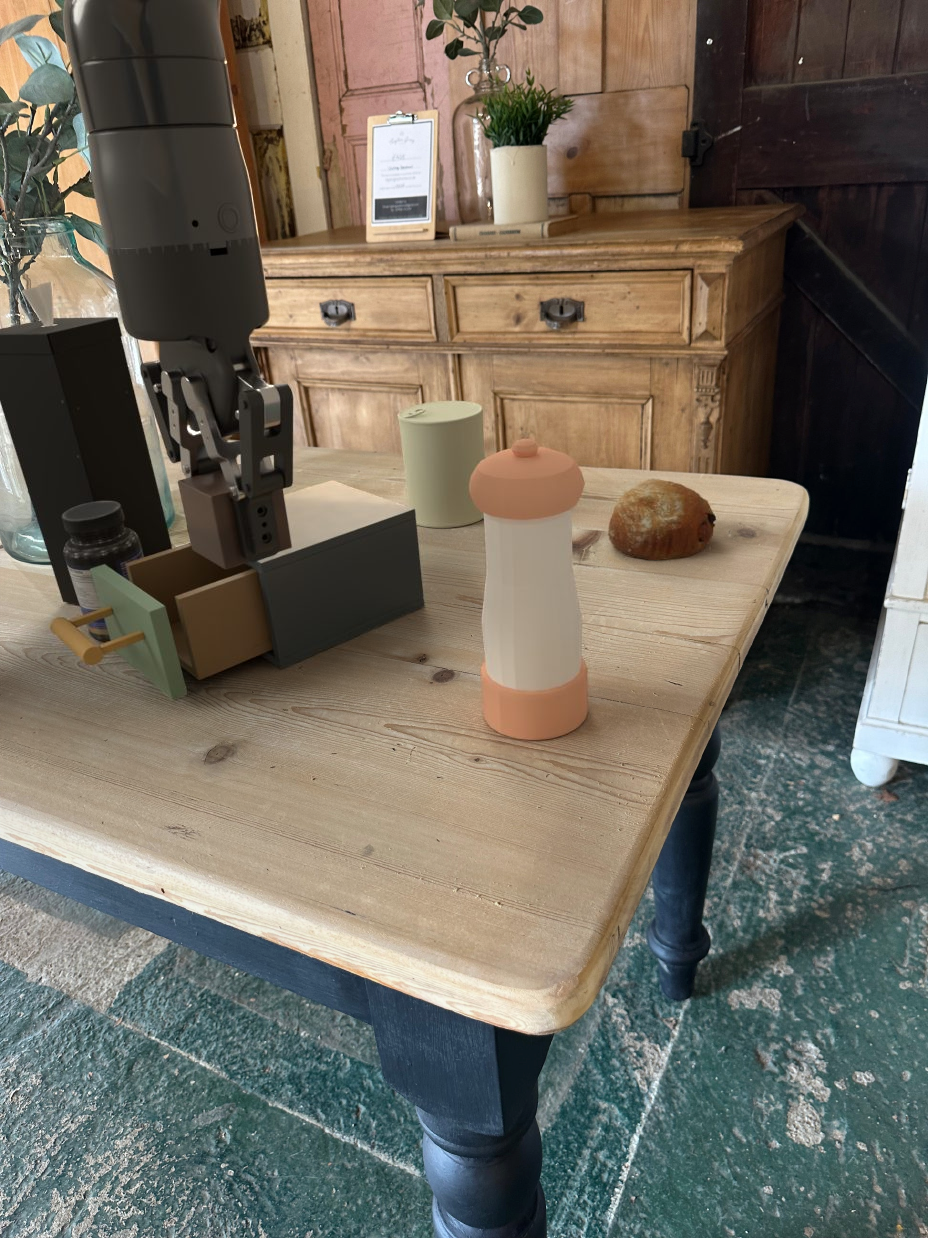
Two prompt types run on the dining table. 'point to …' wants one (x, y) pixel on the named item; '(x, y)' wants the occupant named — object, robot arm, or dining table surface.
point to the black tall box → (77, 426)
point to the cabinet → (338, 570)
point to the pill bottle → (97, 552)
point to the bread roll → (661, 521)
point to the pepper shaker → (530, 593)
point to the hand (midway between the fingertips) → (241, 544)
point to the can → (442, 460)
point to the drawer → (174, 618)
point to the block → (221, 518)
